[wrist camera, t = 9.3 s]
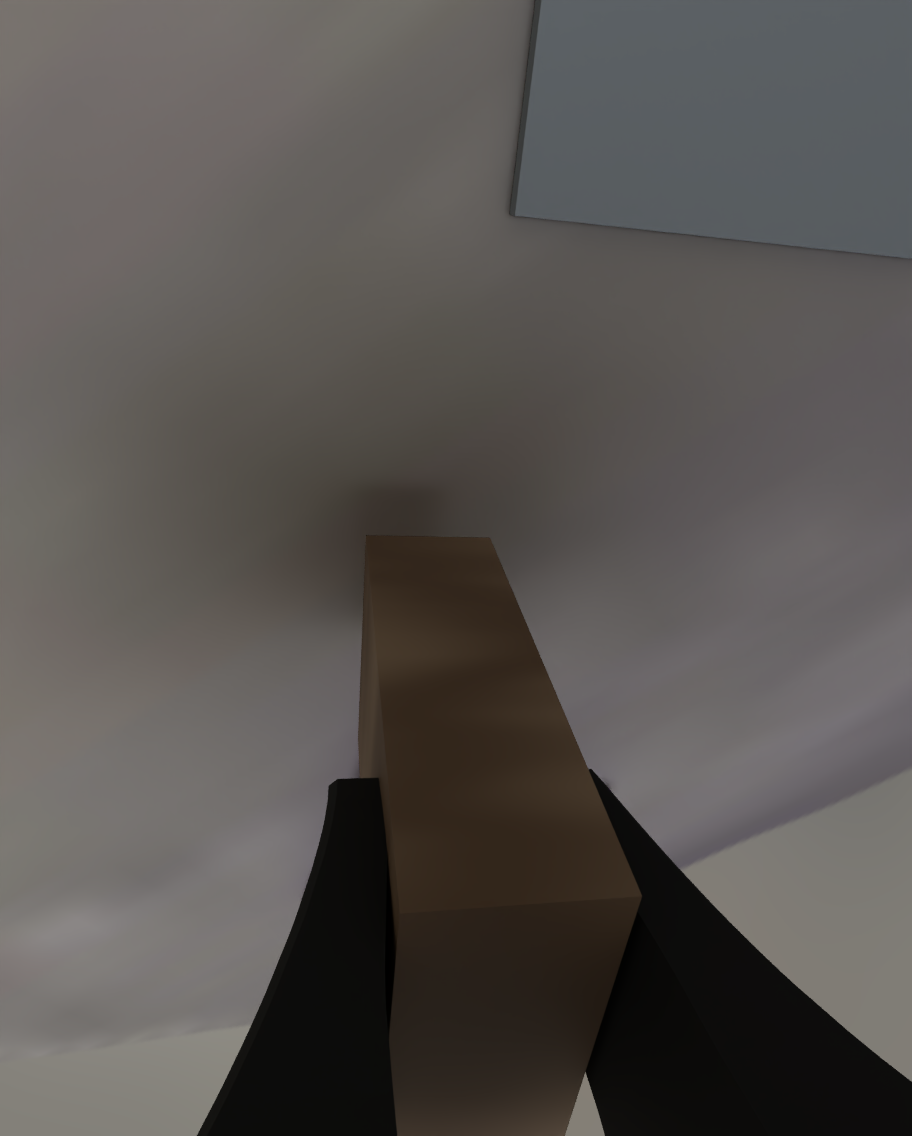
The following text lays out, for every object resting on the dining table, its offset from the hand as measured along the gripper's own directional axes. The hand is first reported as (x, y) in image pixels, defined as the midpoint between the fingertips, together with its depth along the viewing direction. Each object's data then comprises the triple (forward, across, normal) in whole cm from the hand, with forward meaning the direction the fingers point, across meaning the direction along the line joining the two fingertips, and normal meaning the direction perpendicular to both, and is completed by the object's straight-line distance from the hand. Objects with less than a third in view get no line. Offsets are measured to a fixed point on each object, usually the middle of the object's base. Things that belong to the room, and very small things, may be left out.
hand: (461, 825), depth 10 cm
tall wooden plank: (+5, 0, 0) cm, 5 cm away
